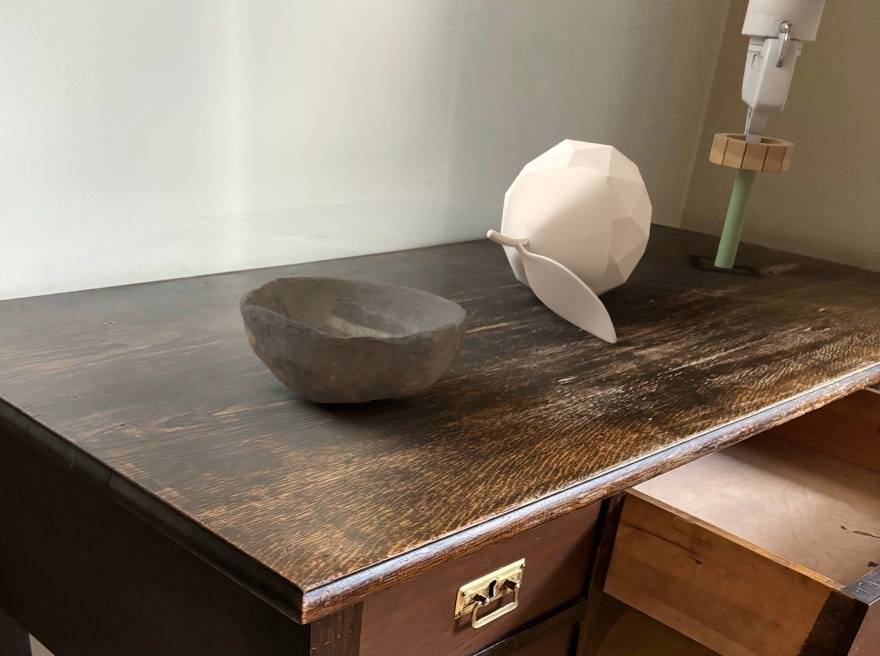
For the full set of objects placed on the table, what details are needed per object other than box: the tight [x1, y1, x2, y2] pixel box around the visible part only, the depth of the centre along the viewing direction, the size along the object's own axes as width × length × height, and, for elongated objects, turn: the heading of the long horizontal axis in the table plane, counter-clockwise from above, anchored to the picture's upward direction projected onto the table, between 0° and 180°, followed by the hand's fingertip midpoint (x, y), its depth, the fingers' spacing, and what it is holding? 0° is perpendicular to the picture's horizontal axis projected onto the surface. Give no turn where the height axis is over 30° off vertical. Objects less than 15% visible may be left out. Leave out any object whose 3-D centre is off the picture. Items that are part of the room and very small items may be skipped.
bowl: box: [239, 275, 468, 404], centre depth 78 cm, size 18×18×8 cm
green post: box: [714, 169, 758, 269], centre depth 128 cm, size 8×8×14 cm
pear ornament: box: [486, 138, 653, 344], centre depth 105 cm, size 16×22×28 cm
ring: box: [709, 132, 796, 174], centre depth 123 cm, size 10×10×3 cm
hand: (749, 146), depth 126 cm, fingers closed on ring
